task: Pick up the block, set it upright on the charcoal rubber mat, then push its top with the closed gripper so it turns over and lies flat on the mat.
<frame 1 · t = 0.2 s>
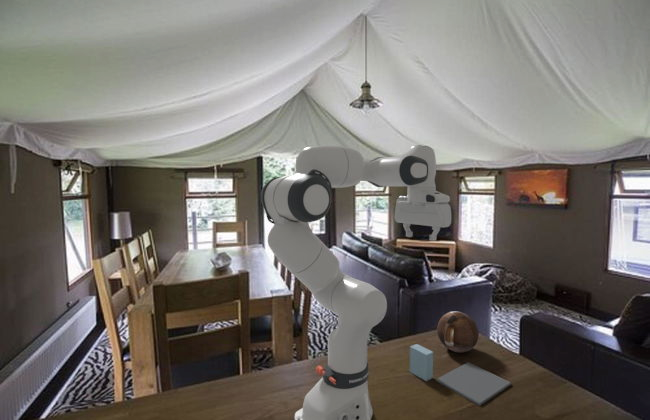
hand: (420, 238, 109), 47 cm above the table, fingers open, 8 cm apart
block: (421, 374, 113), on the table
wooden sphere: (457, 350, 130), on the table
mat: (473, 382, 108), on the table
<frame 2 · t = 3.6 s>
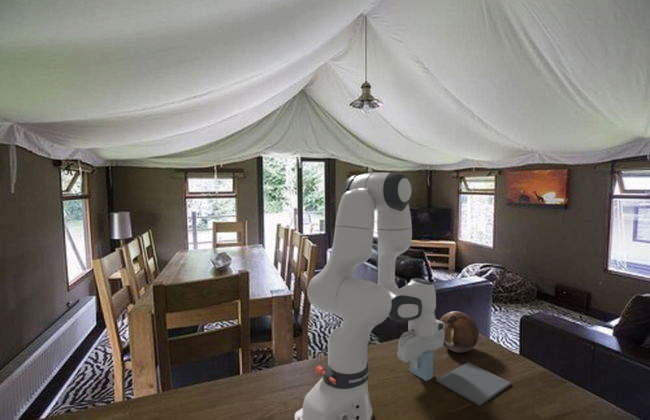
hand: (421, 365, 113), 3 cm above the table, fingers closed on block, 3 cm apart
block: (421, 374, 113), on the table, touching gripper
everything else where it was.
when the fingers open (5 cm above the table, at t = 8.0 s): block stays where it is, resting on mat.
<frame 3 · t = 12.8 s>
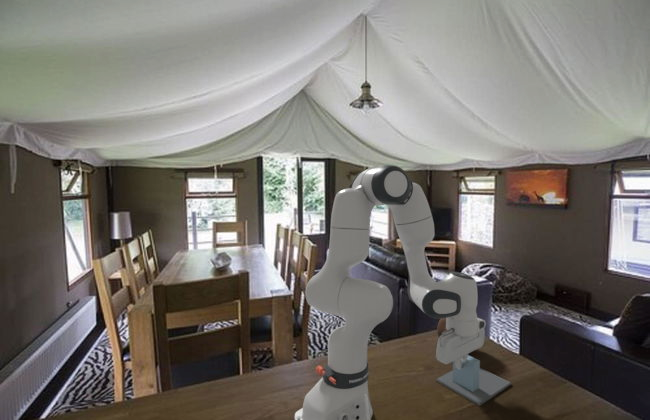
hand: (460, 367, 104), 8 cm above the table, fingers closed
block: (465, 384, 106), point 1 cm above the table, touching gripper, mat
everything else where it was.
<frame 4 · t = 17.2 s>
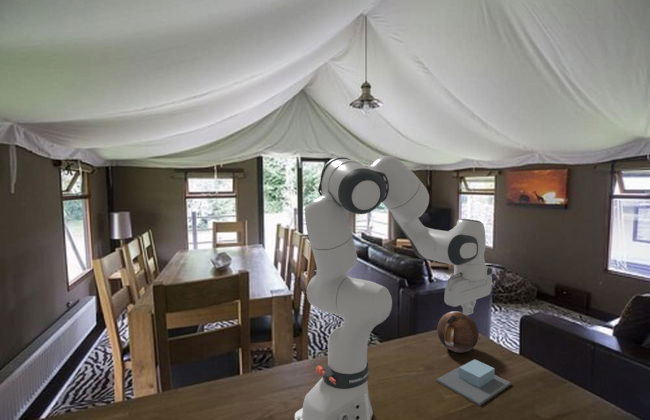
hand: (468, 313, 104), 24 cm above the table, fingers closed
block: (468, 377, 107), point 3 cm above the table, tilted 90°, touching mat
everything else where it was.
at the end: block tilted 90°; block 2.3 cm from the mat (horizontally); the gripper is holding nothing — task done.
